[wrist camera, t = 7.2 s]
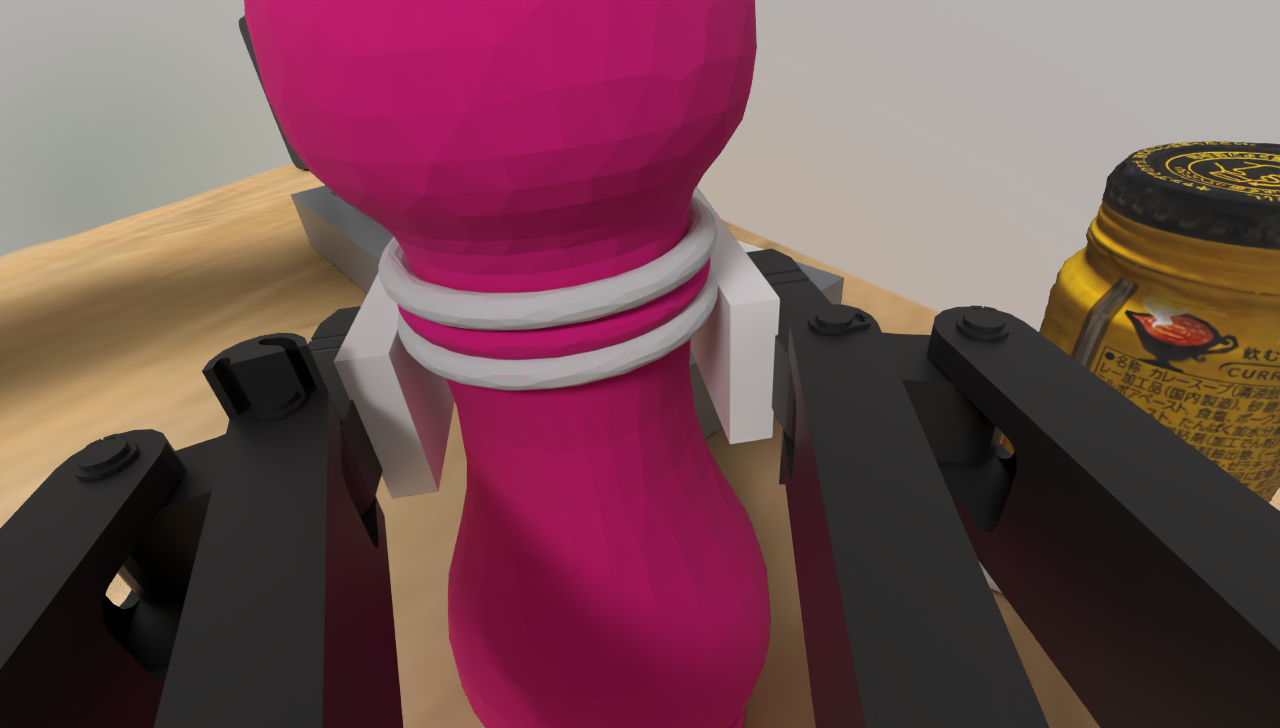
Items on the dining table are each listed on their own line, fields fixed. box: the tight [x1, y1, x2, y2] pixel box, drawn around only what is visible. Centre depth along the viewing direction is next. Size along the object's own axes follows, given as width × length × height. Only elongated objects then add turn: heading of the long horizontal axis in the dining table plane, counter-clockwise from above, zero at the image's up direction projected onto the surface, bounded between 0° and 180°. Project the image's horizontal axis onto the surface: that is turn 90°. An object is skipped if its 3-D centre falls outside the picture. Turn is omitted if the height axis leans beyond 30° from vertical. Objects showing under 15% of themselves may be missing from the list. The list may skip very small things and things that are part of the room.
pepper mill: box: [244, 0, 771, 728], centre depth 11 cm, size 7×7×20 cm
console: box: [291, 186, 844, 439], centre depth 38 cm, size 14×38×4 cm, turn 41°
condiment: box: [979, 141, 1280, 593], centre depth 16 cm, size 7×8×12 cm
